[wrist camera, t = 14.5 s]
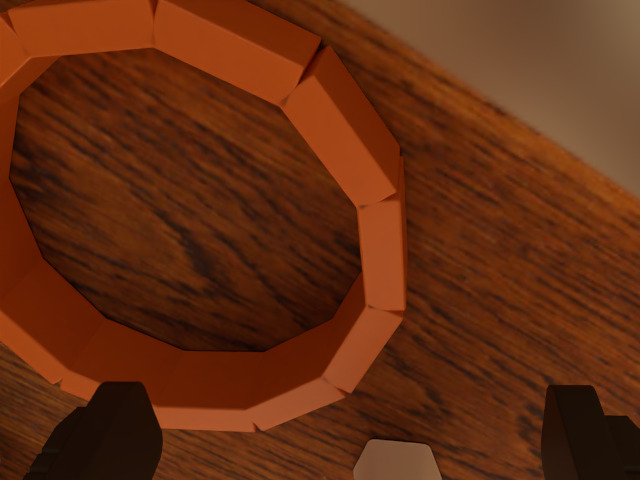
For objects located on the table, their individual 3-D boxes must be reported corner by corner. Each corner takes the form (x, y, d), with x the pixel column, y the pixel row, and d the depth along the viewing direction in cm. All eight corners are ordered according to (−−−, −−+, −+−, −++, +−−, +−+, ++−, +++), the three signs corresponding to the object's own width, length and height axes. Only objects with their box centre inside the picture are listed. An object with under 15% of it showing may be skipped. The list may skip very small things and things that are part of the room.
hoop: (65, 369, 25) (26, 423, 23) (-99, 6, 18) (-186, 29, 15) (413, 376, 23) (411, 439, 20) (395, -47, 15) (390, -31, 12)
